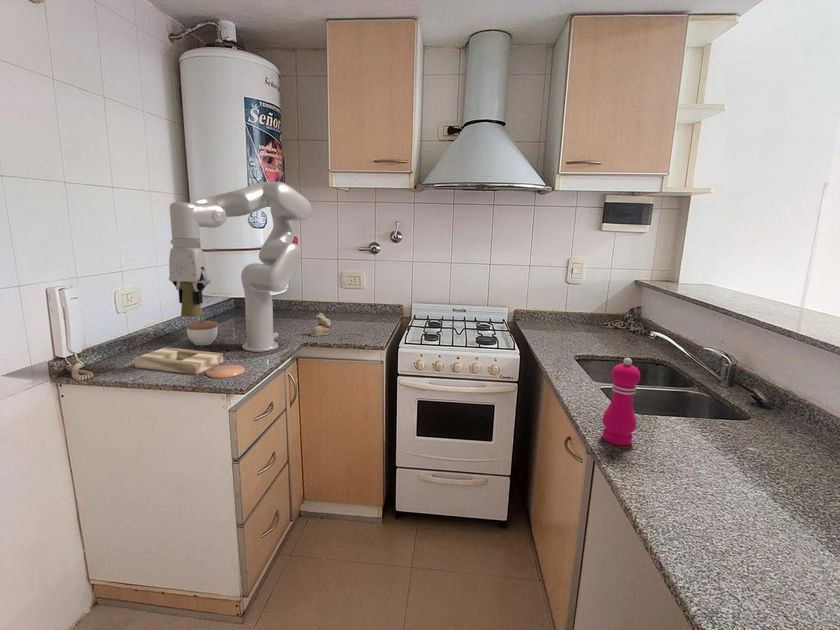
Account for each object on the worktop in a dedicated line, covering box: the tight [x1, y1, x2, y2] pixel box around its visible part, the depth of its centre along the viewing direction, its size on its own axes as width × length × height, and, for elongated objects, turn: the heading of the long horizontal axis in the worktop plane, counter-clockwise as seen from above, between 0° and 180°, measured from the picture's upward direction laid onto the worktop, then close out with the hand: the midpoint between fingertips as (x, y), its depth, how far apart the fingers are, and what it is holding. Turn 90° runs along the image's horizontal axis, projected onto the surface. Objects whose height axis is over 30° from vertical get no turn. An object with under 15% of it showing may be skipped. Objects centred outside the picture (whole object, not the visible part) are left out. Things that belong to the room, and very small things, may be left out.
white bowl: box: [185, 318, 219, 346], centre depth 166 cm, size 11×11×9 cm
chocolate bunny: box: [309, 312, 332, 336], centre depth 185 cm, size 6×8×10 cm
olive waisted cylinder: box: [180, 282, 203, 318], centre depth 136 cm, size 6×6×11 cm
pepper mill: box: [601, 357, 641, 447], centre depth 101 cm, size 7×7×20 cm
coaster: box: [205, 364, 246, 379], centre depth 137 cm, size 11×11×1 cm
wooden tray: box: [133, 347, 224, 375], centre depth 142 cm, size 13×22×3 cm, turn 78°
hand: (191, 302), depth 137 cm, fingers closed on olive waisted cylinder, 4 cm apart
